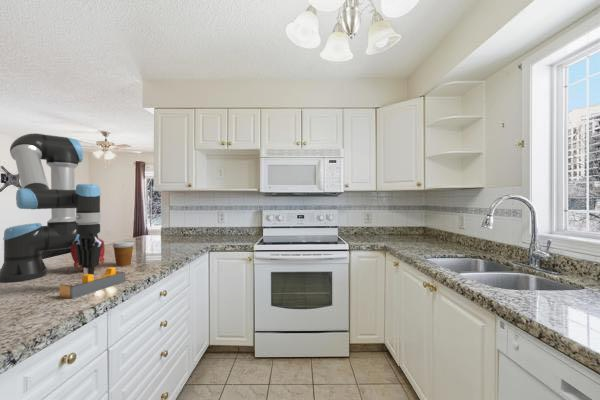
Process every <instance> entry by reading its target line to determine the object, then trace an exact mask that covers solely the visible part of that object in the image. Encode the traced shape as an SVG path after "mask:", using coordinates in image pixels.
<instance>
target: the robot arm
mask: <svg viewBox="0 0 600 400" xmlns="http://www.w3.org/2000/svg"><path fill="white" fill-rule="evenodd" d="M9 153H10V156H11V159H13V161H15V164H16V169H17V172H18V177H19V181H20V185H21V188H18V189H17V190H16V195H15V201H16V207H17V208H18V209H20V210H21V209H22V210H46V209H47V210H48V209H49V210H50V209H51V210H50V211H51V218H50V219H48V220H47V222H46V223H47V225H43V224H42V223H40V222H35V223H26V224H20V225H13V226H9V227H7V228H5V230H4V233H3V238H2V240H3V264H2V265H1V268H0V283H12V282H22V281H29V280H33V279H38V278H41V277H43V276H47V274H48V273H47V272H48V268H47V266H46V265H45V263H44V260H43V258H42V253H43V252H47V251H57V250H58V251H59V250H65V249H66V250H68V249H71V245H72V244H73V243H74V245H75V247H76V252H77V258H78V264H79V265H82V267H83V270H82V275H85V274H93V278H94V277H95V276H94V274H95V268H94V266H96V265H98V264H99V258H100V253H101V247H102V245H103V241H104V240H103V241H101V242H100V241H99V240H98V238H99V236H98V234H99V233H101V224H100V222H101V189H100V188H101V187H100V186H99V184H94V183H93V184H92V183H91V184H90V183H87V184H86V183H81V184H80V183H79V184H76V185H75V181H76V180H75V169H76V168H78V167H79V164H80V163H82V162H83V157H84V152H83V148H82V145H81V143H80V141H79V140H78V139H75V138H71V137H67V136H66V137H65V136H58V135H51V134H50V135H49V134H43V133H27V134H23V135H21V136H19V137H17V138H16V139H15V140H14V141H13V142H12V143H11V145H10V149H9ZM42 160H44V161H45V162H46V165H47V166H49V168H50V187H49V183H48V180H47V177H46V174H45V169H44V167H43V163H42ZM94 279H95V278H94Z"/></svg>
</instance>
